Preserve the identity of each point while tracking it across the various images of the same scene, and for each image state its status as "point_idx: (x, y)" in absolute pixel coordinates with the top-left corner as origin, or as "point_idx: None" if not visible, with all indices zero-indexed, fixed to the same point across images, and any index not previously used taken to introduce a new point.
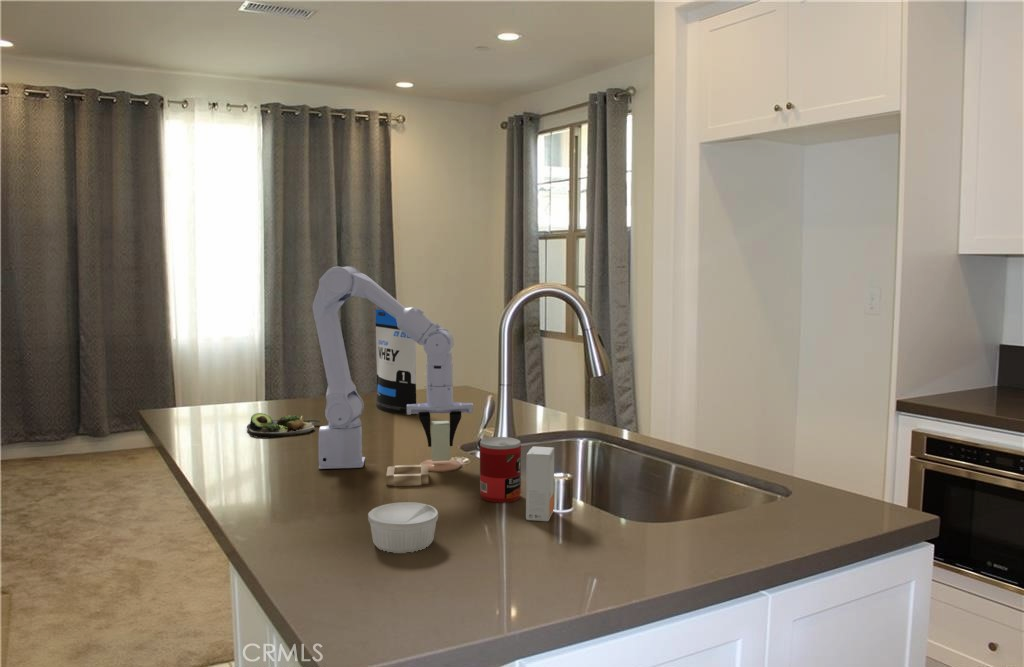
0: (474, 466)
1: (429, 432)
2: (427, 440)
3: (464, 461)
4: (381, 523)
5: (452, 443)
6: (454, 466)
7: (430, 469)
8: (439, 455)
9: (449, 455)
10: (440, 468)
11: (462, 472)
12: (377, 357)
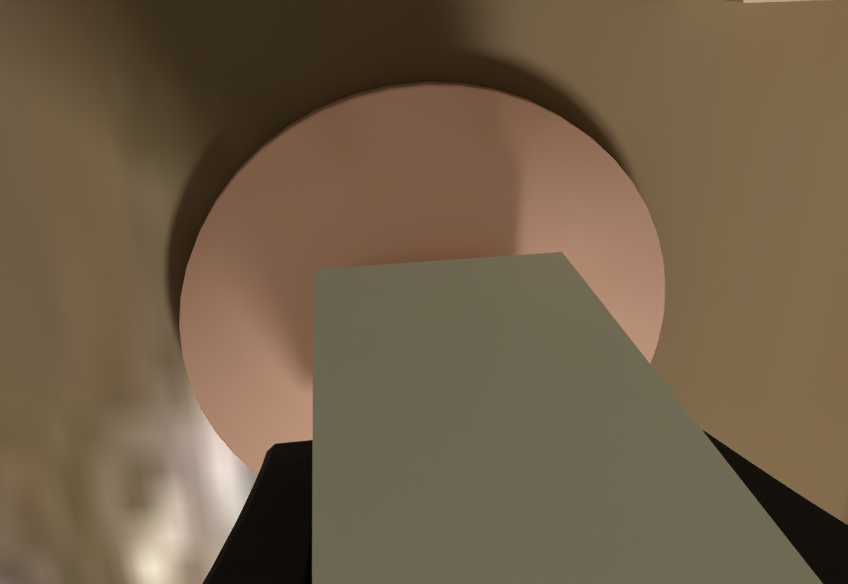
0: (5, 309)
1: (816, 569)
2: (745, 462)
3: (166, 498)
4: None
5: (263, 470)
6: (249, 205)
7: (559, 118)
8: (469, 292)
9: (317, 303)
10: (434, 113)
11: (123, 26)
12: None
